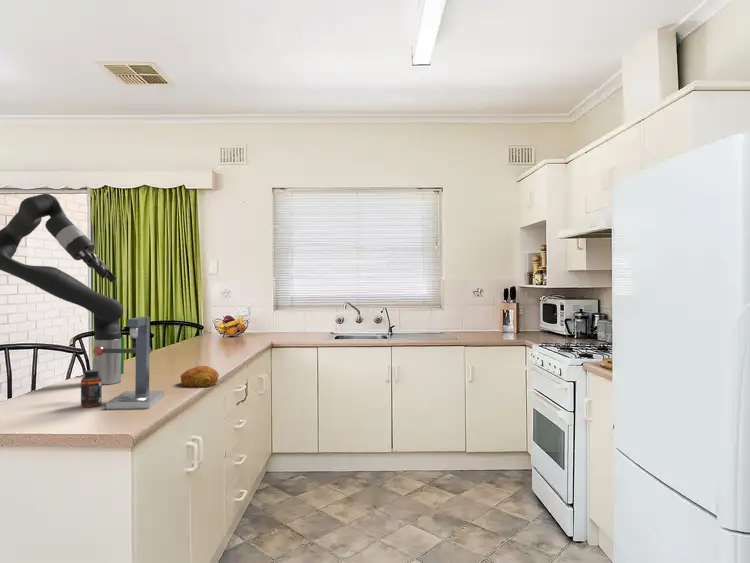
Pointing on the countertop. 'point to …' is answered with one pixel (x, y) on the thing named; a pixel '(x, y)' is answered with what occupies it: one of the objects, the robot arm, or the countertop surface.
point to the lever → (113, 350)
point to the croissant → (199, 377)
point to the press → (138, 371)
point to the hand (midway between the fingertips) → (109, 278)
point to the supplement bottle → (91, 389)
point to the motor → (122, 355)
